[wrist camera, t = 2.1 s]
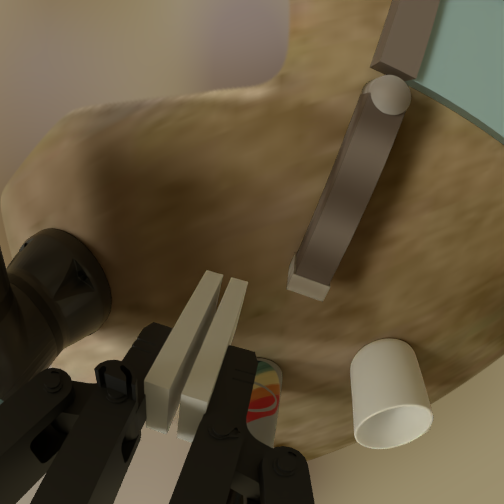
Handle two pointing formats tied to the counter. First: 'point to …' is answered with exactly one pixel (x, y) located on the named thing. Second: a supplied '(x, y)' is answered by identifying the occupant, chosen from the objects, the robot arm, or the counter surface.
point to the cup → (388, 395)
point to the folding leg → (349, 185)
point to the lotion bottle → (262, 409)
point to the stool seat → (449, 55)
